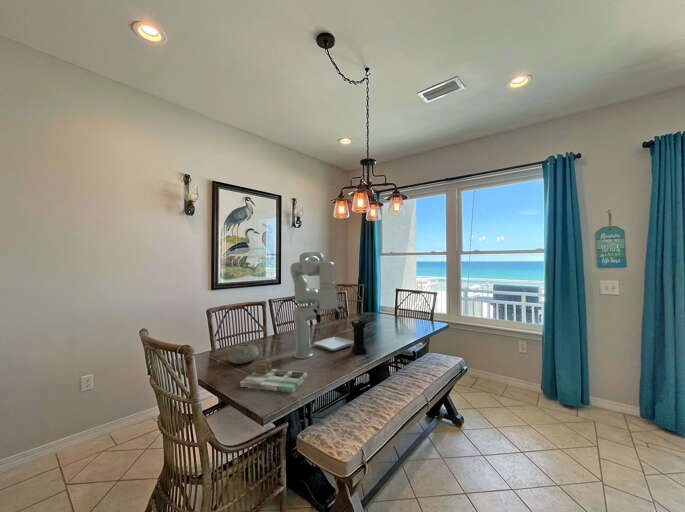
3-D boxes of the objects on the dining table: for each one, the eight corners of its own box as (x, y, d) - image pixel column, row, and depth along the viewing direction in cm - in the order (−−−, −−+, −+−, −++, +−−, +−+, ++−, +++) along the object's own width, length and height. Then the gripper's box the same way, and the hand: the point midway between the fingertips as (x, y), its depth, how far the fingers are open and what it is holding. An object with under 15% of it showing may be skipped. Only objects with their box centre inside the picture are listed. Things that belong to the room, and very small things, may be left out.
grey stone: (245, 354, 186) (245, 339, 186) (265, 359, 176) (264, 343, 177) (221, 363, 170) (221, 347, 170) (241, 369, 161) (241, 351, 161)
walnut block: (261, 369, 154) (261, 360, 154) (271, 370, 152) (271, 360, 152) (255, 373, 148) (255, 364, 148) (265, 374, 147) (265, 365, 147)
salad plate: (312, 347, 199) (312, 342, 199) (334, 340, 214) (334, 335, 214) (333, 354, 184) (333, 348, 184) (355, 346, 199) (355, 341, 199)
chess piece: (367, 353, 182) (366, 322, 182) (356, 355, 179) (355, 324, 179) (362, 350, 189) (361, 320, 189) (351, 351, 186) (350, 321, 186)
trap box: (259, 372, 156) (259, 367, 156) (307, 376, 149) (307, 372, 149) (240, 387, 138) (239, 382, 139) (292, 393, 131) (292, 387, 131)
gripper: (339, 284, 148) (340, 317, 148) (308, 287, 141) (308, 321, 141) (345, 285, 142) (346, 320, 141) (313, 288, 134) (314, 324, 134)
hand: (327, 320), depth 141 cm, fingers open, 9 cm apart
